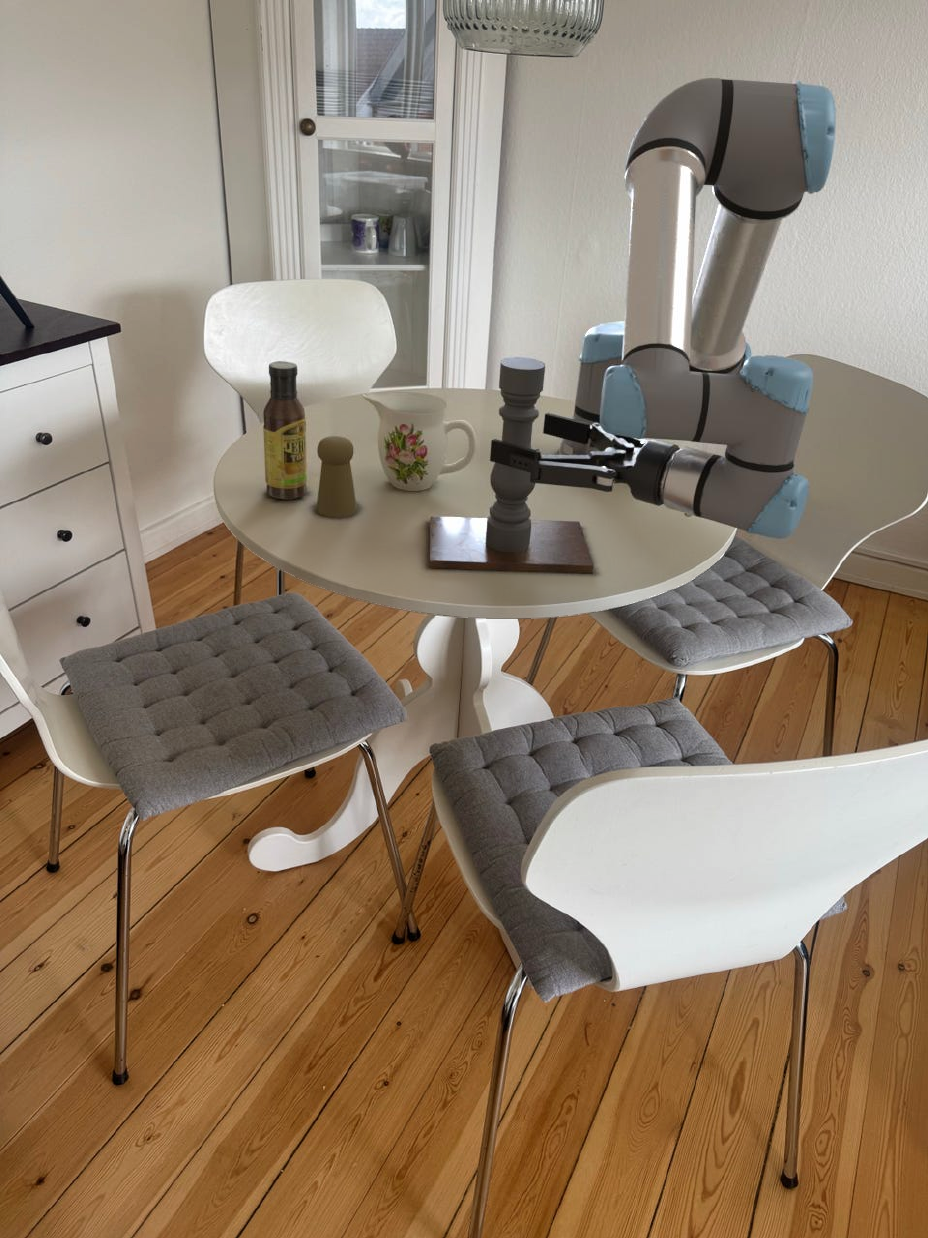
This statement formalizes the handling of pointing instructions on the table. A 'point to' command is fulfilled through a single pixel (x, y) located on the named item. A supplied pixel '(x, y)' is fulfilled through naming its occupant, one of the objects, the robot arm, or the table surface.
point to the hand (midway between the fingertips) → (519, 435)
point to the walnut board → (547, 552)
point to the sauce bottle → (284, 435)
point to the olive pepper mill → (336, 478)
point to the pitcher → (416, 438)
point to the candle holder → (518, 414)
